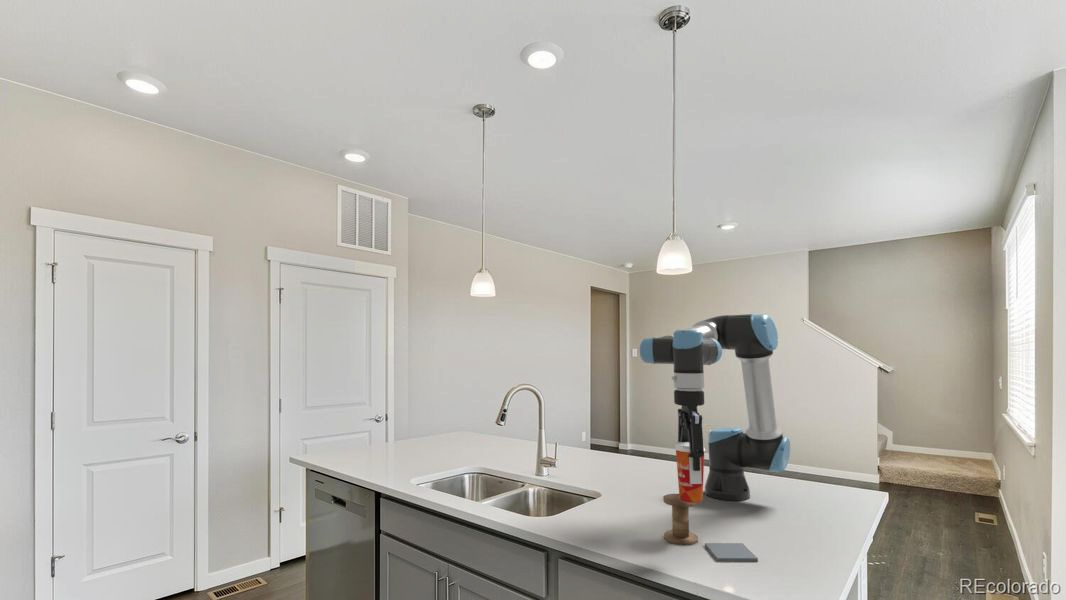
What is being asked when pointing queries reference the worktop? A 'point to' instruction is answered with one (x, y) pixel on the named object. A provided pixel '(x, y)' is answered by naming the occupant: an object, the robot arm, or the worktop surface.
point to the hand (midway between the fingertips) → (690, 478)
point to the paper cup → (687, 475)
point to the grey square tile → (731, 552)
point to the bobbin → (679, 521)
